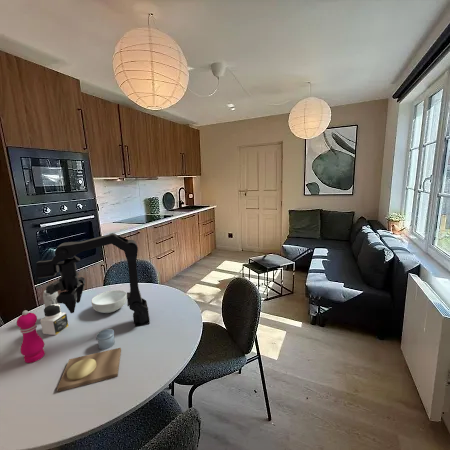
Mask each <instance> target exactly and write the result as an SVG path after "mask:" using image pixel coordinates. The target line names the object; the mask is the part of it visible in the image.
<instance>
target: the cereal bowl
mask: <svg viewBox="0 0 450 450" xmlns="http://www.w3.org/2000/svg"><path fill="white" fill-rule="evenodd" d="M126 303H127V291H124V290H120V289H115V290H108V291H104V292H102V293H101V292H100V293H98V294H97V295H95V296H94V297H93V298H91V305H92V308H93V310H95V311H96V312H97V313H101V314H102V313H105V314H109V313H114V312H115V311H117V310H119V309H121V308H122V307H124V305H125V304H126Z"/></svg>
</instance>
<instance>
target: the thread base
mask: <svg viewBox="0 0 450 450" xmlns="http://www.w3.org/2000/svg"><path fill="white" fill-rule="evenodd" d="M121 353H122V348H121V347H118V348H113V349H108V350H105V351H99V352H96V353H91V354H87V355H83V356H77V357H74V358H73V357H72V358H69V360H68V362H67V364H66V367H65V368H64V371H63V374H62V376H61V378H60V381H59V384H58V385H57V387H56V391H57V392H62V391H67V390H70V389H75V388H78V387H81V386H85V385H89V384H94V383H97V382H101V381H105V380H108V379H113V378H117V377H118V376H119V370H120V369H119V368H120V363H121V362H120V361H121V355H122V354H121Z"/></svg>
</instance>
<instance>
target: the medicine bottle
mask: <svg viewBox="0 0 450 450" xmlns="http://www.w3.org/2000/svg"><path fill="white" fill-rule="evenodd" d="M60 307H61V304H60V305H59V304H52V305H49V306H47V307H46V308H45V307H44V308H43V313H44V317H43V318H41V319H40V325H41V331H42V334H43V335H50V336H57V335H59V334H60V333H61V332H62V331H64V330H65V329H67V328H68V327H69V321H68V316H67V312H64V311H63V312H62V308H61V309H60Z"/></svg>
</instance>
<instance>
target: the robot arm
mask: <svg viewBox="0 0 450 450" xmlns="http://www.w3.org/2000/svg"><path fill="white" fill-rule="evenodd" d="M108 245H113V246H115V247H116V248H118V249H119V250H121V251H123V253H124V255H125V258H126V261H127V267H128V278H129V279H128V280H129V288H130V289H129V292H127V291H126V294H127V300H126V303H127V304H126V305H127V307H128V308H129V310H131V311H133V313H132V319H133V324H134V327H140V326H144V325H150V324H151V322H150V321H151V320H150V312H149V307H148V303H147V300H146V299H144V298H143V297H142V294H141V291H140V288H139V278H138V267H137V260H138V251H139V247H138V243H137V242H136V241H135V240H134V239H128V238H125V237H123V236H121V235H119V234H116V233H115V232H112V233H111V232H110V233H109V234H106V235H102V236H98V237H94V238H90V239H87V240H83V241H68V242H66V241H65V242H63V243H61V244H59V245H58V246H57V247H56V249H54V257H52V259H49V260H39V261H37V262H35V264H36V267H35V268H36V269H35V275H36V277H37V279H43V278H45V279H46V278H49V277H55V276H56V275H57V274H60V278H59V280H56V281H54V282H52V283H50V284H48V285H47V286H46V288H45V290H46V293H48V294H50V295H52V294H53V293H55V292H59V291H60V293H58V297H57V298H56V301H57V303H60V304H63V305H65V307H66V309H67V310H68V311H69V313H70V314H74V313H75V310H76V307H77V303H78V304H79V303H80V302H81V299H82V295H83V292H84V289H85V286H86V285H85V284H86V279H85V277H83V276H80V272H78V270H77V265H76V263H79V262H80V261H81V258H80V257H78V256H76V255H78V254H80V253H82V252H86V251H89V250H93V249H97V248H100V247H104V246H108ZM79 276H80V277H79Z"/></svg>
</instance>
